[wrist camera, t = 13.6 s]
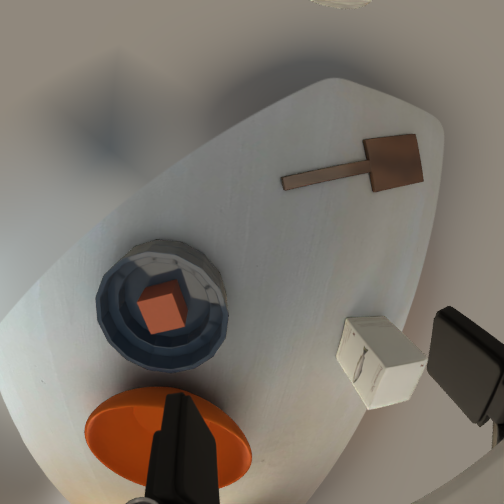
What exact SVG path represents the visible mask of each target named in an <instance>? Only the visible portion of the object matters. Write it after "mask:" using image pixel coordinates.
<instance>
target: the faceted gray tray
mask: <svg viewBox="0 0 504 504" xmlns="http://www.w3.org/2000/svg"><path fill="white" fill-rule="evenodd" d="M176 279H177V281H178V284H179V287H180V289H181V292H182V295H183V298H184V300H185V303H186V306H187V308H188V312H187V318H186V324H185V327H182V328H177V329H173V330H169V331H164V332H160V333H155V334H151V333H150V331H149V329H148V327H147V325H146V322H145V320H144V318H143V315H142V313H141V311H140V308H139V306H138V304H137V301H138V299H139V298H140V296H141V294H142V292H143V291H144V289H145V288H146V287H150V286H153V285H157V284H161V283H165V282H168V281H172V280H176ZM96 310H97V321H98V323H99V325H100V327H101V329H102V331H103V333H104V335H105V337H106V339H107V341H108V342H109V344H110V345H111V346H112V347H114V348H115V349H116V350H117V351H118V352H119V353H120V354H121V355H122V356H123V357H124V358H125V359H126V360H128V361H130V362H132V363H134V364H136V365H138V366H141V367H143V368H145V369H147V370H152V371H159V372H166V373H175V372H180V371H185V370H190V369H194V368H196V367H198V366H199V365H201V364H202V363H204V362H206V361H207V360H209V359H210V358H212V357H213V356H214V355H215V353H216V352H217V350H218V349H219V347H220V346H221V344H222V343H223V341H224V340H225V338H226V332H227V324H228V317H229V313H228V304H227V294H226V291H225V288H224V284H223V281H222V278H221V274H220V272H219V271H218V270H217V269H216V267H215V266H214V265H213V264H212V263H211V261H210V260H209V259H208V258H207V257H206V255H205V254H203V253H201V252H200V251H198V250H196V249H194V248H192V247H190V246H189V245H187V244H185V243H183V242H178V241H169V240H160V239H156V240H153V241H150V242H146V243H143V244H140V245H137V246H134V247H133V248H132V249H131V250H130V251H129V252H128V253H127V254H126V255H124V256H123V257H122V258H121V259H120V260H119V261H118V262H117V263H116V264H115V265H114V266H113V267H112V268H111V269H110V270H109V271H108V272H106V273H105V274H104V276H103V278H102V281H101V284H100V286H99V289H98V292H97V295H96Z"/></svg>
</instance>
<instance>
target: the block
mask: <svg viewBox="0 0 504 504" xmlns="http://www.w3.org/2000/svg"><path fill="white" fill-rule="evenodd" d="M137 304H138V306H139V308H140V311H141V313H142V315H143V318H144V320H145V322H146V325H147V327H148V329H149V331H150V333H151V334H155V333H160V332H164V331H169V330H173V329H177V328H182V327H185V324H186V318H187V312H188V308H187V306H186V303H185V300H184V298H183V295H182V292H181V289H180V287H179V284H178V281H177V279H176V280H172V281H168V282H165V283H161V284H157V285H153V286H150V287H146V288H145V289H144V291H143V292H142V294H141V296H140V298H139V299H138V301H137Z"/></svg>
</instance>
